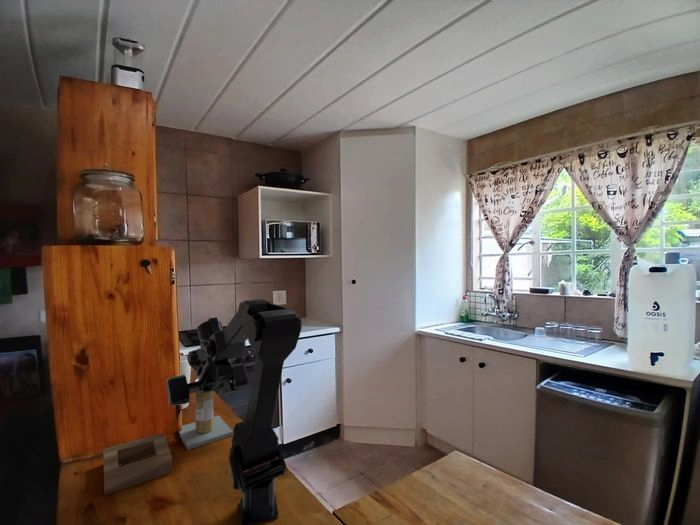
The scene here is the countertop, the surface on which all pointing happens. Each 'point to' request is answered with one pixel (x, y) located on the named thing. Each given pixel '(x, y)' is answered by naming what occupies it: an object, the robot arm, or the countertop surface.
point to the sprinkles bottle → (204, 411)
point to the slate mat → (197, 439)
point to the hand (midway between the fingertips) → (202, 397)
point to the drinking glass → (185, 372)
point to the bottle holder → (139, 470)
